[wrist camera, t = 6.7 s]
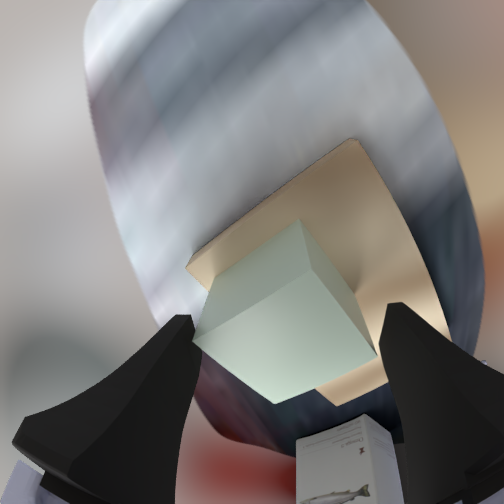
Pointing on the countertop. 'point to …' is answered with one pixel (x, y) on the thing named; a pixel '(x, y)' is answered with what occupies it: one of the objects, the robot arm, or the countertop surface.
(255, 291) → the pale green block
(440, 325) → the board
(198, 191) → the countertop surface
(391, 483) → the supplement box
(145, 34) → the countertop surface
